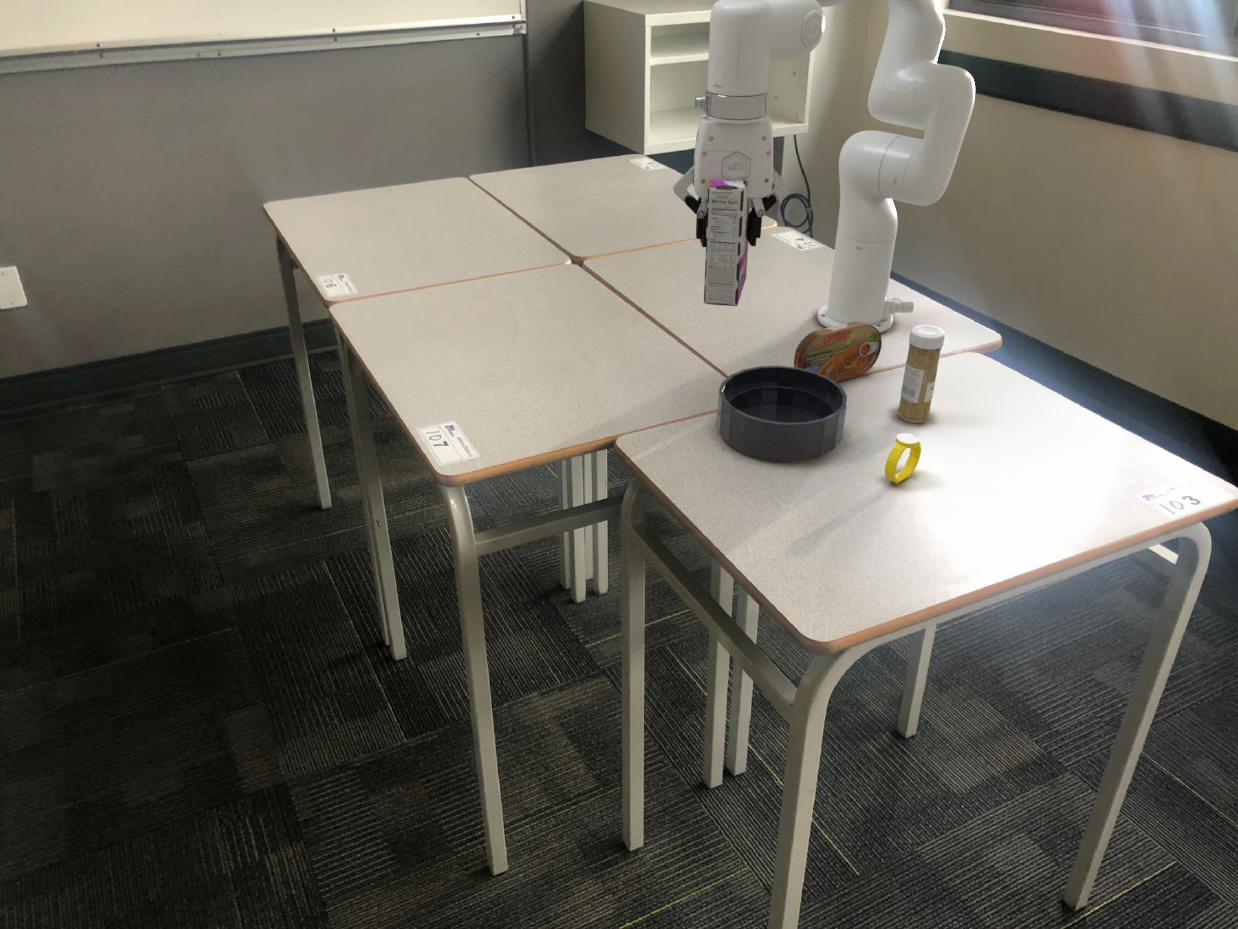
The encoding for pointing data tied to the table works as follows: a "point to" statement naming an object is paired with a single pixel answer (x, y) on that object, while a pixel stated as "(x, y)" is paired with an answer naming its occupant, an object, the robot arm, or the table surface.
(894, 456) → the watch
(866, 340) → the tin
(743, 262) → the candy bar box
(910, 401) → the spice jar
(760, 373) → the bowl
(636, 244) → the table surface
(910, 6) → the robot arm
